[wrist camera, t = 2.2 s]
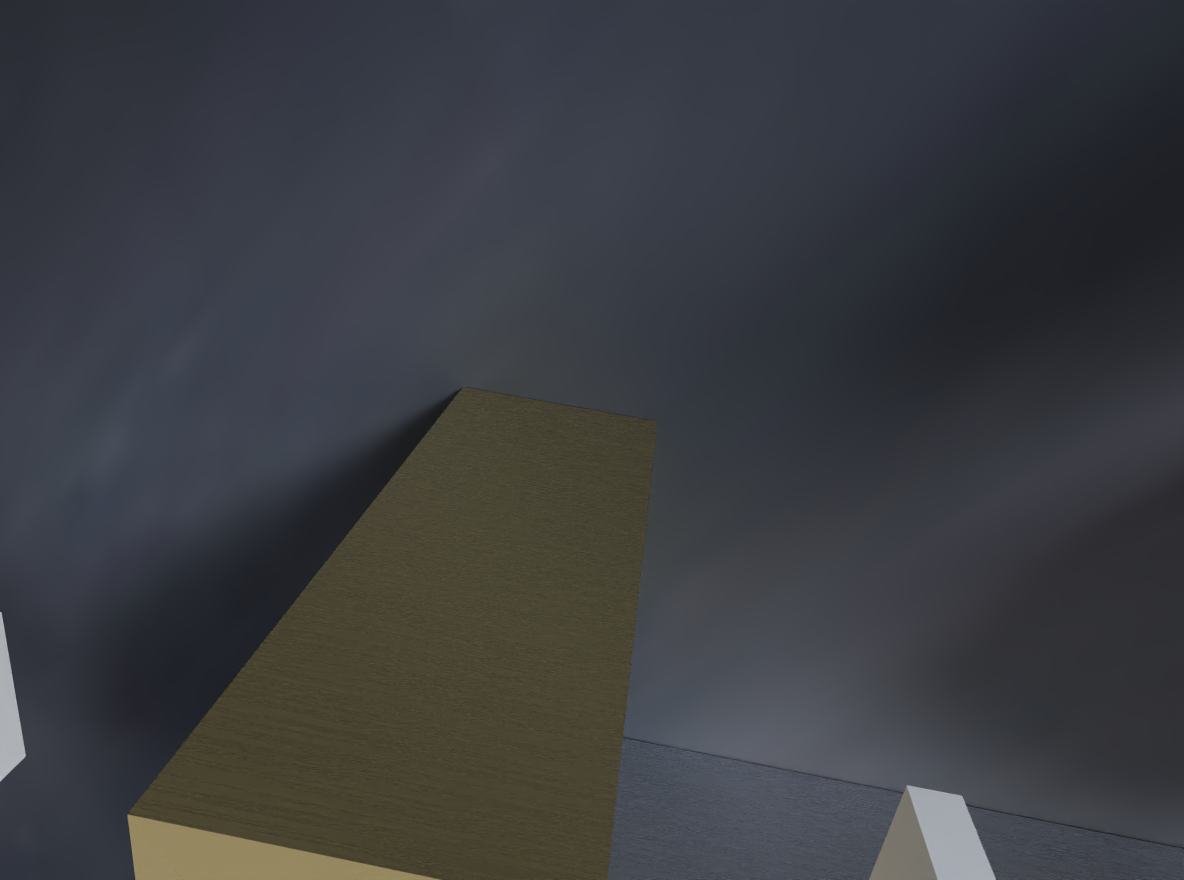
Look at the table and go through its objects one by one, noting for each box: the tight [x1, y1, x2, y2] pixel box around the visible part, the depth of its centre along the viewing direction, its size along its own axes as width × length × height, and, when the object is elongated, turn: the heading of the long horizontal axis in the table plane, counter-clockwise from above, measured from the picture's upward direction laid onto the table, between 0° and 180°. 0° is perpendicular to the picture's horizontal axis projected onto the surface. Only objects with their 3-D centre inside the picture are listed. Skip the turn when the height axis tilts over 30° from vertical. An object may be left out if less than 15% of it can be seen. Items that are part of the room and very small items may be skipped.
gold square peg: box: [127, 387, 657, 880], centre depth 14 cm, size 4×4×12 cm
